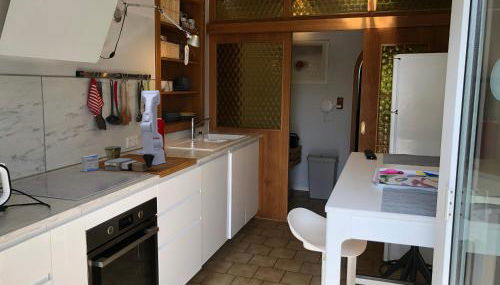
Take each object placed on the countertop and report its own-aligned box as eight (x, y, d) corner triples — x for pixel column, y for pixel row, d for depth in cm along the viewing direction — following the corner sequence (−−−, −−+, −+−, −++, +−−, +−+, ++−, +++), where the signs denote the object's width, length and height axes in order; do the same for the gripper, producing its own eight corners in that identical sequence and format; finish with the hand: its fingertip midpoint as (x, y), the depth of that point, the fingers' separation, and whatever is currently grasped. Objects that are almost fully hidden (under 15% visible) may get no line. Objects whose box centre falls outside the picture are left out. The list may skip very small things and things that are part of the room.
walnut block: (138, 168, 244) (138, 162, 243) (148, 170, 240) (148, 163, 239) (132, 170, 240) (131, 163, 239) (142, 171, 236) (141, 164, 235)
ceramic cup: (104, 162, 267) (103, 146, 266) (120, 160, 271) (119, 145, 270) (106, 165, 255) (105, 149, 254) (124, 164, 260) (122, 147, 258)
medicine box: (86, 172, 238) (85, 156, 237) (82, 171, 241) (80, 156, 239) (99, 169, 244) (97, 154, 243) (94, 168, 247) (93, 154, 246)
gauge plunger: (127, 165, 249) (126, 159, 249) (139, 166, 246) (138, 160, 245) (113, 169, 239) (112, 162, 238) (125, 170, 235) (124, 163, 235)
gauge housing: (119, 165, 254) (119, 157, 253) (133, 166, 249) (132, 158, 249) (104, 169, 243) (104, 161, 242) (118, 170, 238) (117, 162, 238)
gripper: (132, 144, 234) (134, 168, 236) (154, 145, 228) (155, 169, 230) (140, 142, 241) (142, 165, 243) (161, 143, 235) (163, 167, 236)
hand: (149, 167), depth 237 cm, fingers closed
